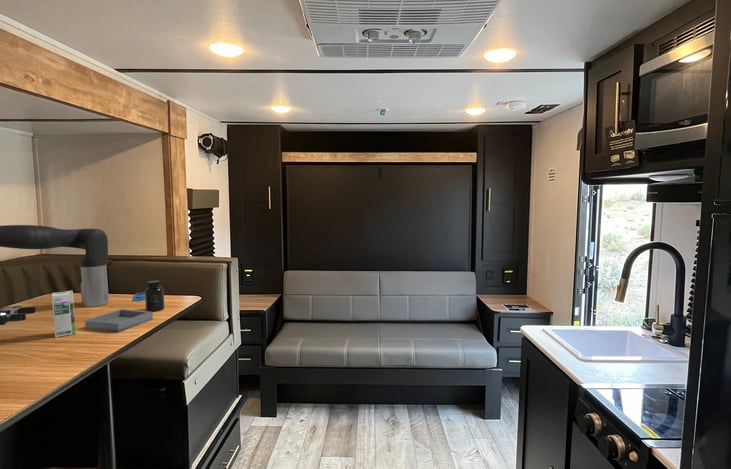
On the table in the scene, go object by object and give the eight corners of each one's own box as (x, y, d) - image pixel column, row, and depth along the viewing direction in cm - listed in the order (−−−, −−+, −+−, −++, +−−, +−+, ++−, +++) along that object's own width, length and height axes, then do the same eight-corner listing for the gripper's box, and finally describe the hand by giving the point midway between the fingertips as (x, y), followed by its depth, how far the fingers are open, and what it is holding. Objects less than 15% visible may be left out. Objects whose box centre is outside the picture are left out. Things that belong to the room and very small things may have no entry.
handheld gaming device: (132, 299, 177) (135, 292, 191) (133, 302, 178) (135, 295, 191) (153, 297, 181) (154, 290, 195) (153, 300, 181) (154, 293, 195)
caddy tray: (85, 328, 141) (85, 320, 141) (122, 316, 156) (121, 308, 155) (118, 332, 137) (117, 323, 137) (152, 319, 151) (152, 311, 151)
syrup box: (54, 337, 132) (51, 295, 131) (55, 333, 137) (52, 292, 135) (75, 334, 135) (72, 292, 134) (75, 329, 140) (72, 289, 139)
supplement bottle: (168, 307, 168) (166, 279, 166) (158, 312, 161) (156, 283, 160) (152, 307, 168) (151, 279, 167) (142, 311, 162) (140, 283, 160)
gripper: (-48, 314, 118) (21, 307, 125) (-24, 302, 131) (37, 297, 138) (-45, 338, 119) (23, 330, 126) (-22, 324, 132) (39, 317, 138)
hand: (30, 313), depth 132 cm, fingers open, 8 cm apart
